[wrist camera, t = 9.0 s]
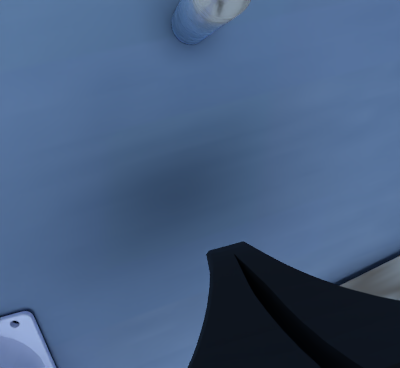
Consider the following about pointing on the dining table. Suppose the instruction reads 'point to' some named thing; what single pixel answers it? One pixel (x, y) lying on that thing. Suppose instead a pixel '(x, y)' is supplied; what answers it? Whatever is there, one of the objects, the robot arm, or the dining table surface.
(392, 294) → the gate
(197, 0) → the latch post
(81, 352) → the dining table surface
